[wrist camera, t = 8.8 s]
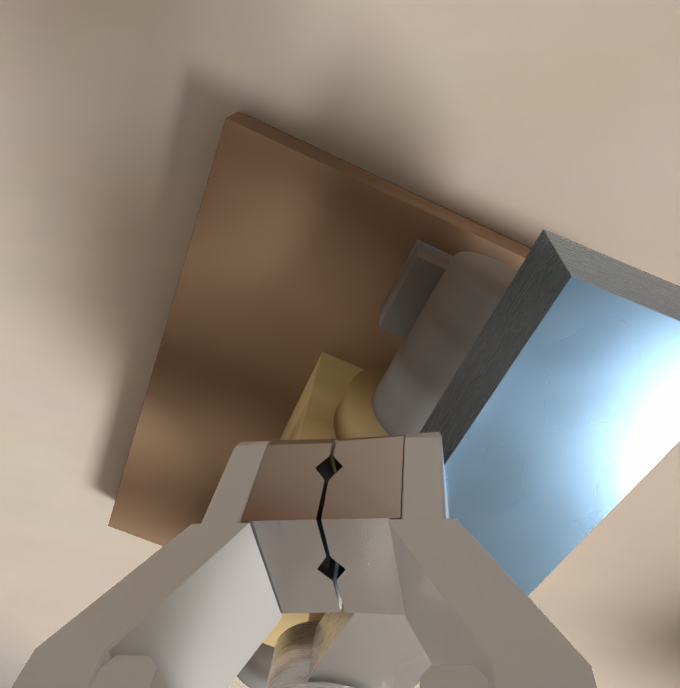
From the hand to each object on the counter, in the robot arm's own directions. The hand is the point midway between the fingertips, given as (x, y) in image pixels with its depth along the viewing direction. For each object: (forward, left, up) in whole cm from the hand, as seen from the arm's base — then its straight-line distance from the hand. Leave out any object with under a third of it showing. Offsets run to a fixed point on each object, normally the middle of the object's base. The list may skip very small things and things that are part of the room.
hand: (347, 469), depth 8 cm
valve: (-7, -1, -10) cm, 12 cm away
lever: (-2, -3, -1) cm, 4 cm away
